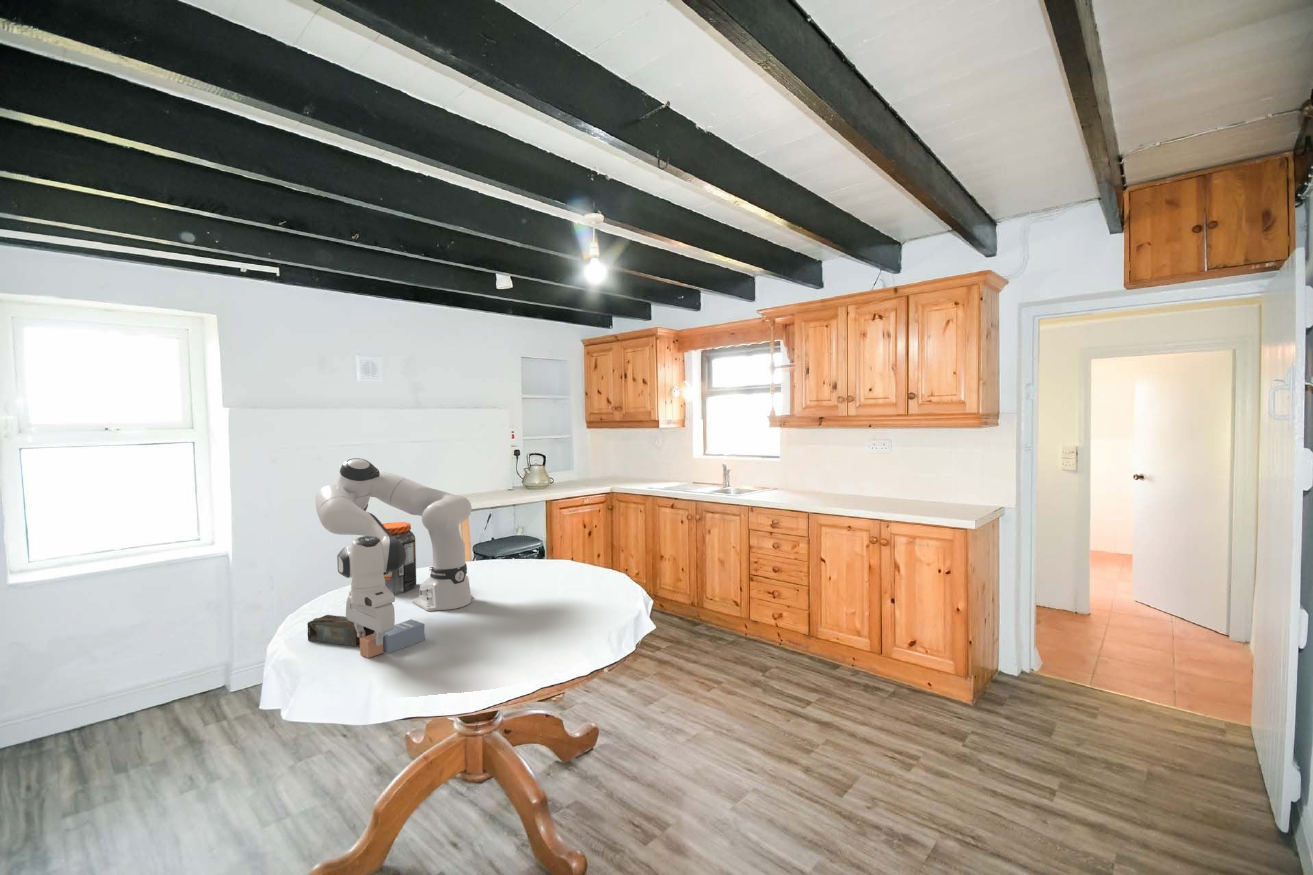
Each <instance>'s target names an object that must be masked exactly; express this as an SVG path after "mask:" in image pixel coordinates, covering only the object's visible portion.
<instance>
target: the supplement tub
mask: <svg viewBox="0 0 1313 875" xmlns="http://www.w3.org/2000/svg"><path fill="white" fill-rule="evenodd" d="M382 524H383V526H384V527H385V528H386V529H387V530H388V531H389V532H390V534H391V535H392V536H393V537H394V538H396V539H397V540H399V541H400V542H401V543H402V544H403V546H404V548H405V552H406V560H405V562H404V564H403V565H402V566H401V567H400V568H399V569H398V570H397V571H395V572H384V573H383V575H384V578H385V586H386V587H387V588H388V589H389V591H390V592H392V593H393V594H394V595H396V594H402V593H404V592H408V591H411V590H412V589H414V588H415V587H416V585H417V564H416V563H417V555H416V553H417V550H416V536H415V534H414V532H412V530H411V529H412V527H411V523H410V522H406V521H405V522H404V521H399V522H398V521H397V522H387V523H382Z"/></svg>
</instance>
